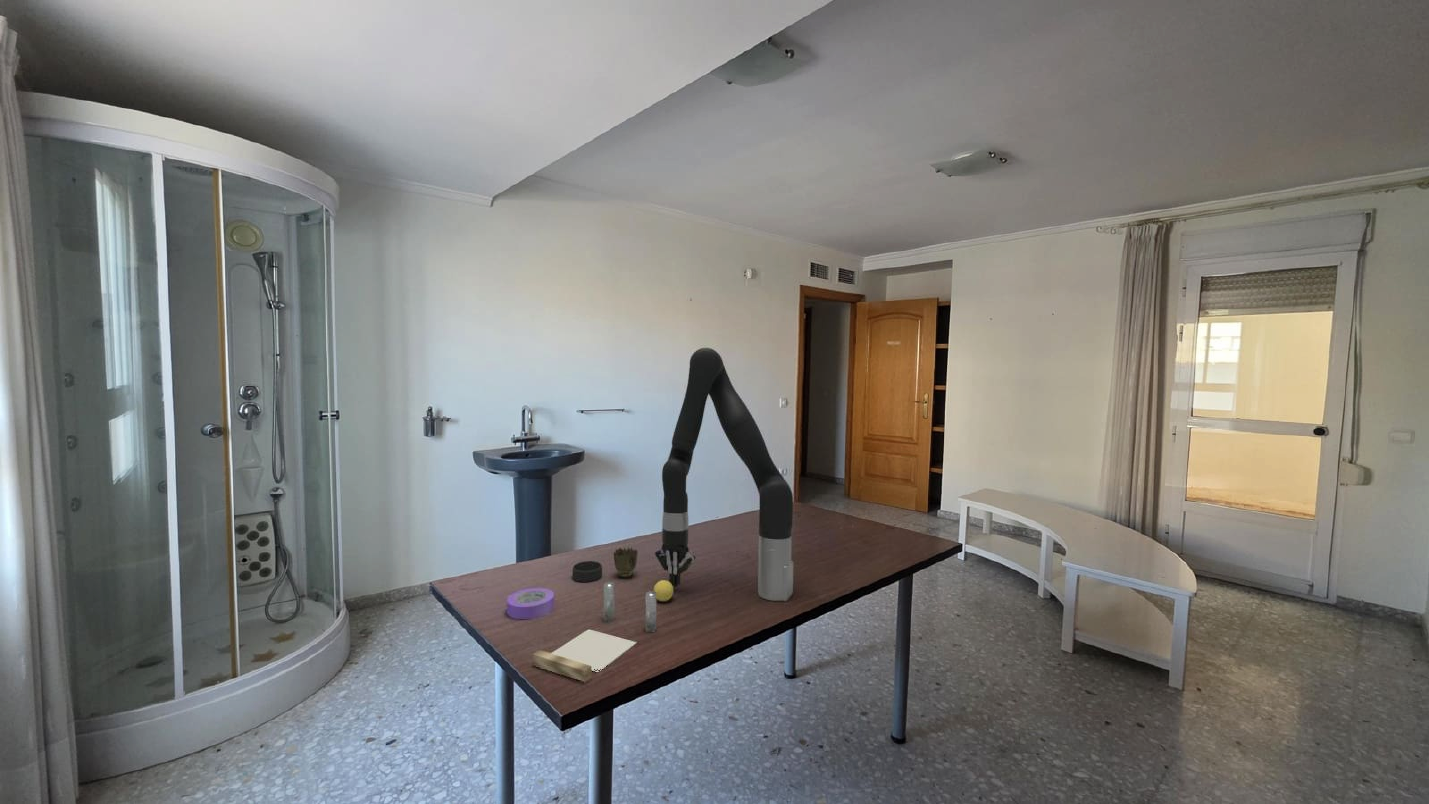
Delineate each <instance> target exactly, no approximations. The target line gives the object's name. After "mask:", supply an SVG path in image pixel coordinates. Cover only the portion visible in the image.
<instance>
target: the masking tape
mask: <svg viewBox="0 0 1429 804" xmlns="http://www.w3.org/2000/svg"><path fill="white" fill-rule="evenodd" d="M554 610H555V593H554V592H553V591H552V590H551V589H548V588H543V587H531V588H526V589H521V590H518V591H516V592H514V593H512V594H511V595H509V596H508V597H507V599H506V614H508V615H509V616H510V617H509V616H508V615H507V616H508V617H509V618H511V617H512V618H511V619H513V618H515V619H514V620H518V619H529V620H535V619H539V617H540V618H542V616H543V617H546V616H548V615H549V614H551V613H552V612H551V611H554ZM534 618H535V619H534Z"/></svg>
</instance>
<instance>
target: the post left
mask: <svg viewBox="0 0 1429 804" xmlns="http://www.w3.org/2000/svg"><path fill="white" fill-rule="evenodd" d="M614 620H615V583H614V582H611V581H607V582H604V583H603V621H604V622H613V621H614Z"/></svg>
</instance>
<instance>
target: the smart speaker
mask: <svg viewBox="0 0 1429 804" xmlns="http://www.w3.org/2000/svg"><path fill="white" fill-rule="evenodd" d="M602 575H603V566H602V564H601V562H599V561H594V560H593V561H592V560H591V561H589V560H588V561H587V560H586V561H581V562H578V563H575V564H574V566H572V578H573V580H575V581H577V582H579V583H589V582H595V581H597V580H599V579H600V578H601V577H602Z"/></svg>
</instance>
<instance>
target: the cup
mask: <svg viewBox="0 0 1429 804" xmlns="http://www.w3.org/2000/svg"><path fill="white" fill-rule="evenodd" d="M612 554H613V558H614V560H613V561H614V566H615V569H616V571H617V572H618V573H619V577H621V578H623V579H627V578H630V577H631V576H632V572H633V571H634V570H635V568H636V565H637V560H638V549H636V548H632V547H628V548H626V547H624V548H621V547H619V548H618V549H617V548H616V549H615V551H613V553H612Z"/></svg>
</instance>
